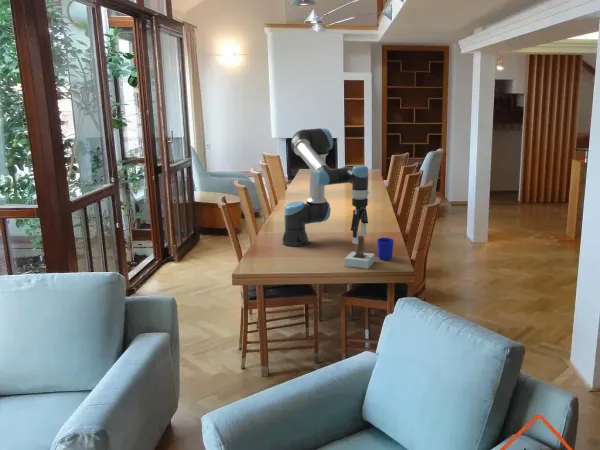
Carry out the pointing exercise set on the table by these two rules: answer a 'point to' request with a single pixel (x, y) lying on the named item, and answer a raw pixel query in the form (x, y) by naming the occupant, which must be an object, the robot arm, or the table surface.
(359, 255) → the peg
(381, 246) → the mug
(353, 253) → the socket
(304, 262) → the table surface
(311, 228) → the table surface
